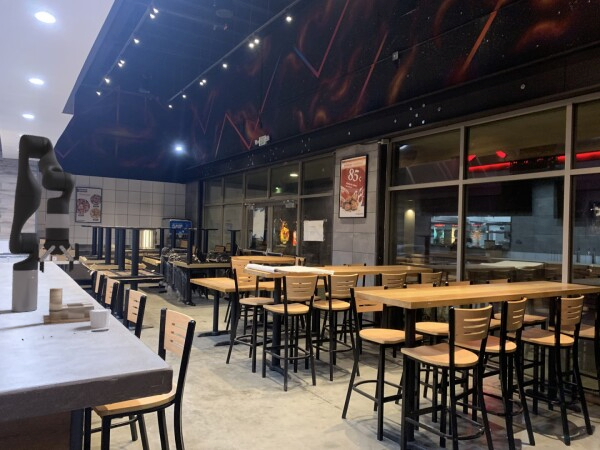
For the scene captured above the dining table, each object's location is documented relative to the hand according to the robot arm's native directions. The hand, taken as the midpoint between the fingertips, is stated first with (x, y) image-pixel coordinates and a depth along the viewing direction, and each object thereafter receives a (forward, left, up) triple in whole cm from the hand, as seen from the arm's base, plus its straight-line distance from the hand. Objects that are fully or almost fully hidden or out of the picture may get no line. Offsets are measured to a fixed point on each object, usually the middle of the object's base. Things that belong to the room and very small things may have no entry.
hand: (56, 271), depth 154 cm
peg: (0, 0, -18) cm, 18 cm away
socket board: (-6, +5, -20) cm, 21 cm away
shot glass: (+14, +13, -20) cm, 27 cm away
